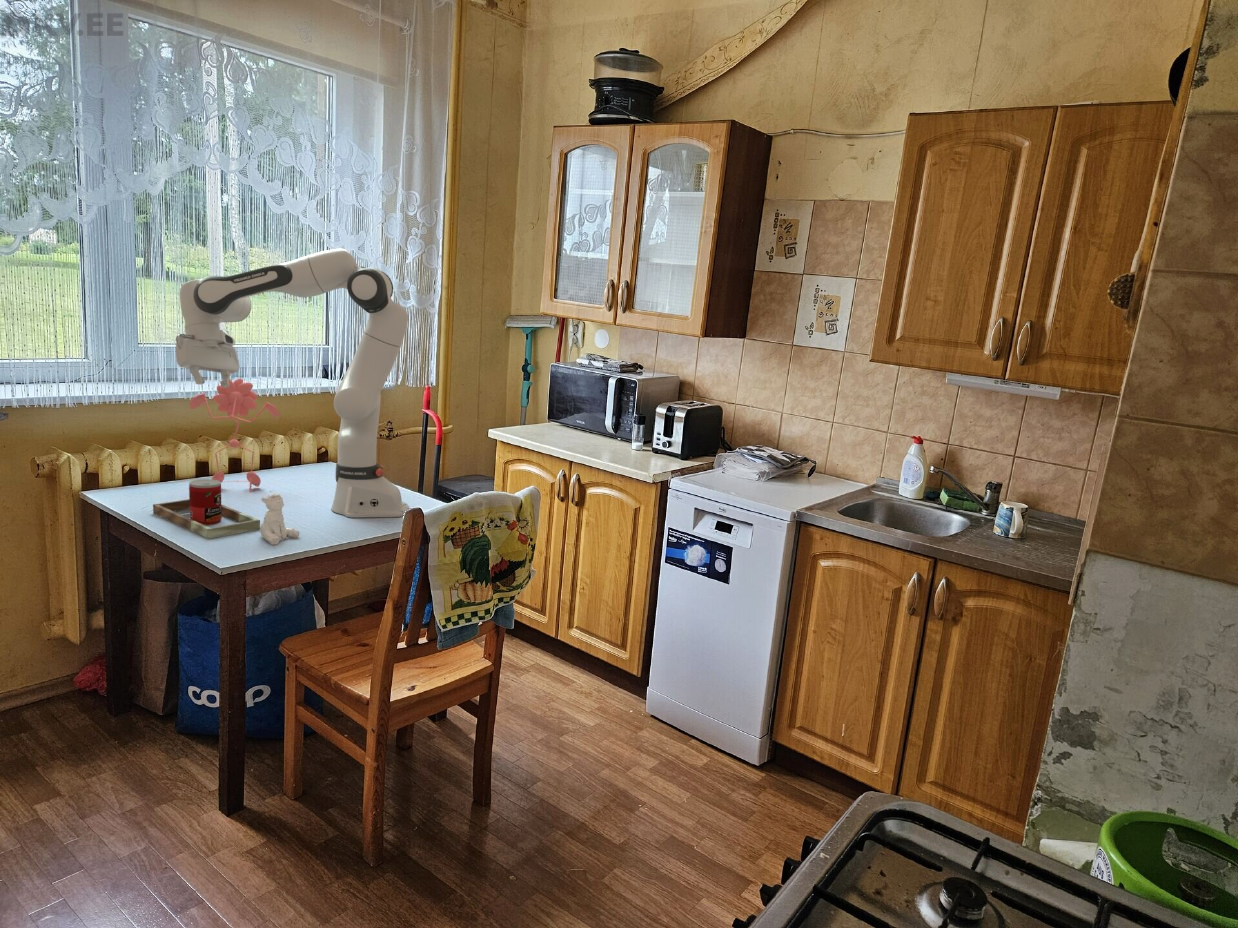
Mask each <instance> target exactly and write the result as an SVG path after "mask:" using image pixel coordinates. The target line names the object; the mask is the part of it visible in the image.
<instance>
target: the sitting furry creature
mask: <svg viewBox="0 0 1238 928" xmlns="http://www.w3.org/2000/svg"><path fill="white" fill-rule="evenodd" d="M260 500H261V502H262V503H264V504H265V507H266V509H267V511H266V512H265V514H264V517H263V519H264V520H263V521H262V523H260V529H259V531H260V532H259V533H260V535H261V537H262V538H263V539H264V540H265V541H267V542H268V543H269V544H270V545H273V546H276V545H278V544H279V542H281V541H283V540H284V541H285V540H287V539H299V537H300V533H301V532H300V530H298V529H296V528H294V527H285V526H286V524H285V522H284V520H285V518H284V514H283V508H284V506H285V503H284V500H283V497H282V496H281V495H280V494H278V493H272V494H270V495H268V496H267V497H262V498H260Z"/></svg>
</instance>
